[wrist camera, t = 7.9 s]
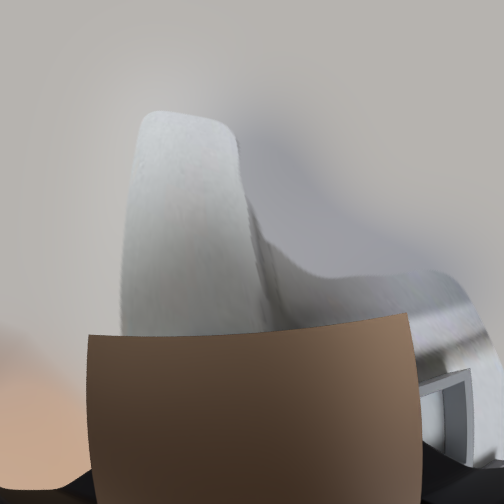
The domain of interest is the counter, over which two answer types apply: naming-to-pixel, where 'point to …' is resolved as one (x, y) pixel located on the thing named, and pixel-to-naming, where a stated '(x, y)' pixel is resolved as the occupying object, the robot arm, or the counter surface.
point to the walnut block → (257, 417)
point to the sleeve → (455, 412)
